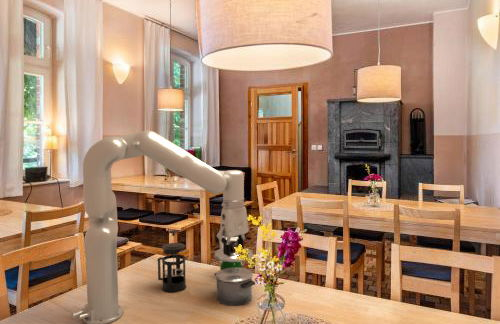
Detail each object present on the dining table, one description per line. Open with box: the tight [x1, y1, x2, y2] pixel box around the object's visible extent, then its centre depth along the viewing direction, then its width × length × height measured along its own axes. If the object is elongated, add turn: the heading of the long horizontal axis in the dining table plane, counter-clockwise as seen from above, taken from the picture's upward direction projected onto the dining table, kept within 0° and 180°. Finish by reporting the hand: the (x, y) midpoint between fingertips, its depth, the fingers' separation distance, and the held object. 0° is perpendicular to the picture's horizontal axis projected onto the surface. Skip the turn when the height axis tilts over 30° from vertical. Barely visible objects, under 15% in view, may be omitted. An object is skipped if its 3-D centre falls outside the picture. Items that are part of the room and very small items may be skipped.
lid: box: [214, 240, 254, 262], centre depth 132 cm, size 14×14×5 cm
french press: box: [157, 229, 187, 294], centre depth 141 cm, size 12×9×23 cm
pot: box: [213, 267, 256, 307], centre depth 132 cm, size 14×17×9 cm
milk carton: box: [218, 236, 243, 271], centre depth 150 cm, size 9×9×20 cm
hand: (233, 252), depth 132 cm, fingers closed on lid, 6 cm apart
